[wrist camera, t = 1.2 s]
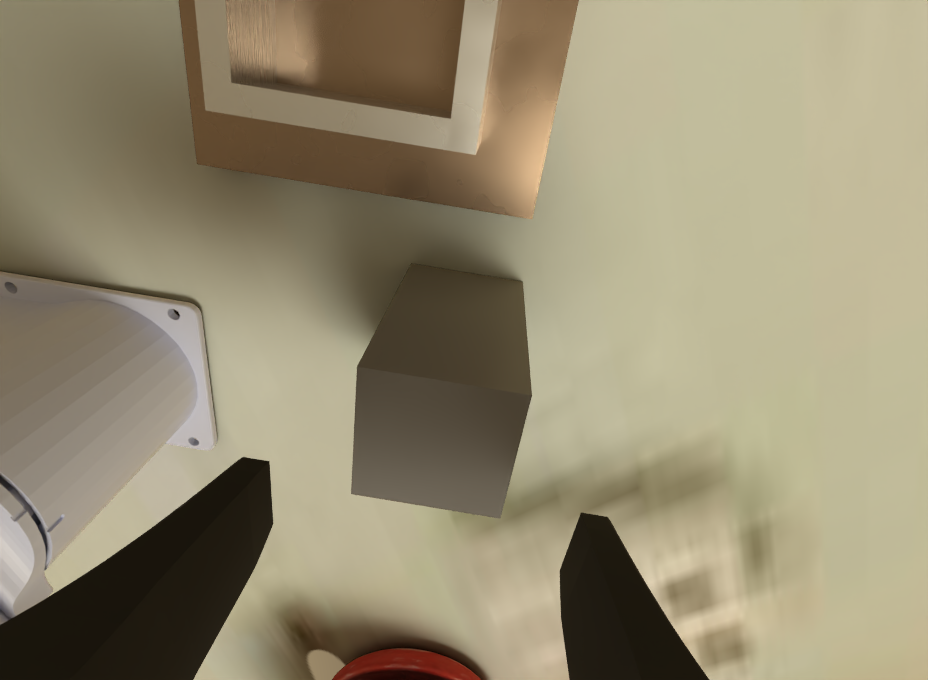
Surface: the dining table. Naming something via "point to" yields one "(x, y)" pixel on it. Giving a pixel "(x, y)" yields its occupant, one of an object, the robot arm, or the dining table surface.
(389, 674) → the plant pot
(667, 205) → the dining table surface
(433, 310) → the block
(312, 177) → the duct collar
